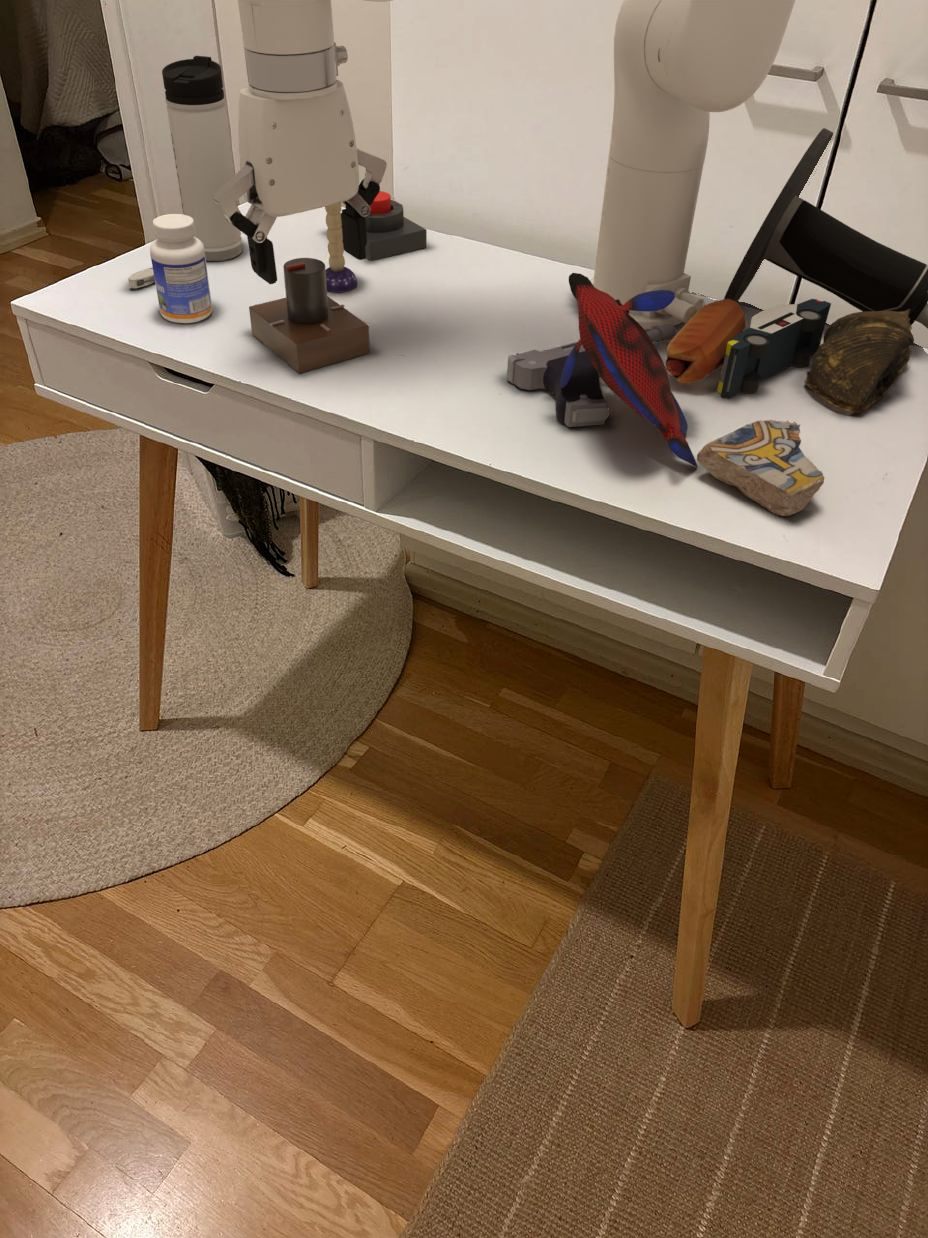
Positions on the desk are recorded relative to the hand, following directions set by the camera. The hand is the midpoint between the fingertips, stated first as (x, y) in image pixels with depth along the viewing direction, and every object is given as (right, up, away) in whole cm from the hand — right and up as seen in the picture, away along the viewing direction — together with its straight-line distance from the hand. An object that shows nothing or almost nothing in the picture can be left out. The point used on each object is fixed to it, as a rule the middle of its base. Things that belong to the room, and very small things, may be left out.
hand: (311, 266), depth 96 cm
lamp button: (+4, +15, +24) cm, 29 cm away
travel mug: (-15, +10, +22) cm, 28 cm away
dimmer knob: (-1, -4, +3) cm, 5 cm away
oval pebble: (-20, +4, +15) cm, 26 cm away
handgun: (+33, -13, -4) cm, 36 cm away
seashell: (+54, -11, +3) cm, 55 cm away
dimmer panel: (-1, -6, +5) cm, 8 cm away
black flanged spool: (+47, +8, +9) cm, 48 cm away
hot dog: (+41, -6, 0) cm, 41 cm away
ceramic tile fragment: (+45, -21, -12) cm, 51 cm away
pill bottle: (-15, -2, +9) cm, 18 cm away
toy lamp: (0, +3, +16) cm, 16 cm away
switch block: (+4, +13, +26) cm, 29 cm away
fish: (+25, -12, -15) cm, 32 cm away
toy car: (+47, -8, +1) cm, 47 cm away
